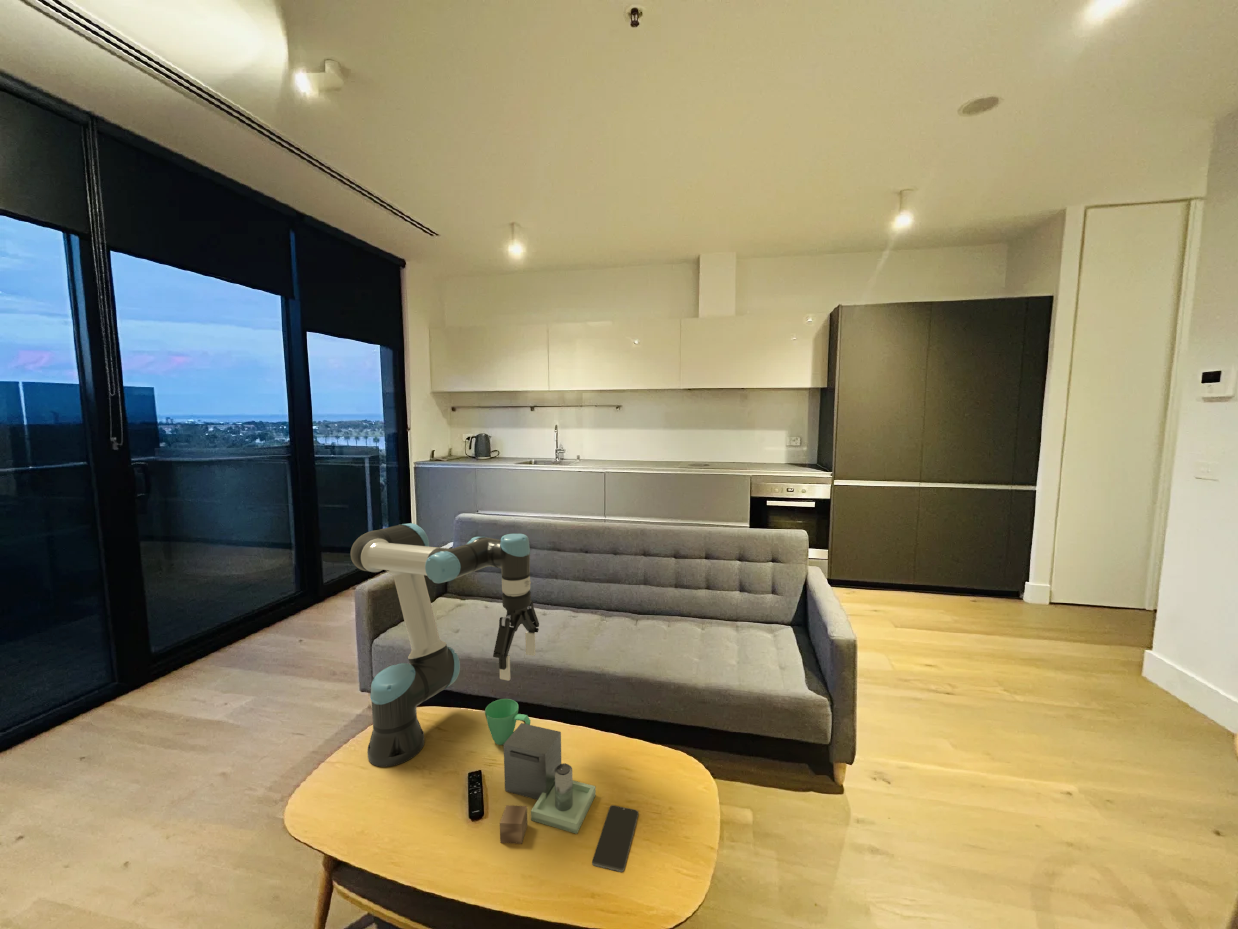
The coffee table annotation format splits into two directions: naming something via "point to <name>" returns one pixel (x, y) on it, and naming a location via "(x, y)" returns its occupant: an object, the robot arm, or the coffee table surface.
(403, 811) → the coffee table surface
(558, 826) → the tray
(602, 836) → the smartphone
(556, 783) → the cartridge
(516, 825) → the walnut block
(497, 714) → the mug
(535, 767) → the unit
